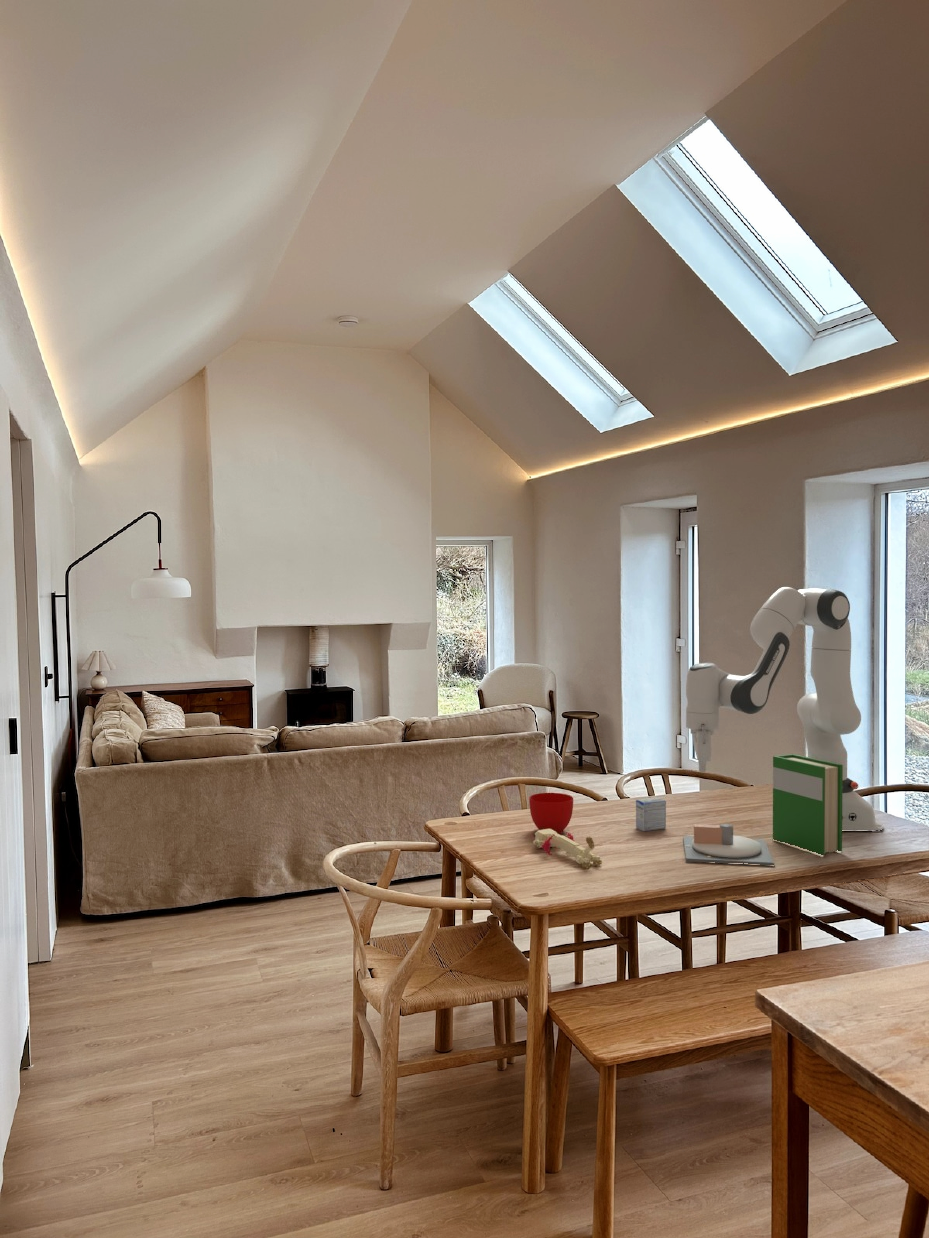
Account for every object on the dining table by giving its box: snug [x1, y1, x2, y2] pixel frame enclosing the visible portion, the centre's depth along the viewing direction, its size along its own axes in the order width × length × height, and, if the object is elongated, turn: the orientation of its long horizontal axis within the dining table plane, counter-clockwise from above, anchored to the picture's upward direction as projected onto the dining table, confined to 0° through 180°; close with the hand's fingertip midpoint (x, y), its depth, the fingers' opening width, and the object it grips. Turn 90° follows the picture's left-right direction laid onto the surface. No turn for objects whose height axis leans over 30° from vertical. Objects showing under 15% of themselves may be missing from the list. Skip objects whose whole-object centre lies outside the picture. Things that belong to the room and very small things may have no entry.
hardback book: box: [772, 753, 843, 856], centre depth 252 cm, size 18×7×24 cm, turn 26°
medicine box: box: [635, 796, 667, 832], centre depth 272 cm, size 8×4×9 cm, turn 113°
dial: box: [692, 823, 761, 858], centre depth 248 cm, size 18×18×6 cm
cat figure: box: [532, 829, 603, 870], centre depth 246 cm, size 10×9×25 cm
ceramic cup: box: [528, 792, 574, 835], centre depth 272 cm, size 13×17×10 cm
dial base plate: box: [682, 835, 775, 866], centre depth 248 cm, size 22×22×1 cm
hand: (702, 771), depth 254 cm, fingers closed
